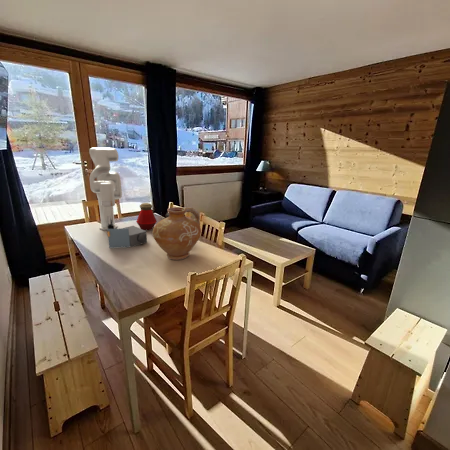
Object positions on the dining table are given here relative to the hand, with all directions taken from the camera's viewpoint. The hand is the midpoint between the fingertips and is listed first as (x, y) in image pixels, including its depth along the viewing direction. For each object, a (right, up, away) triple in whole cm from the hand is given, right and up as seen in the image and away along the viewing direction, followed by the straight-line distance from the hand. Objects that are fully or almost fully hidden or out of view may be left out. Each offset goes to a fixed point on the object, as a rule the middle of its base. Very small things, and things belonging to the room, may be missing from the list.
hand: (111, 231), depth 157 cm
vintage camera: (+36, -5, +24) cm, 44 cm away
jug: (+43, -15, -5) cm, 46 cm away
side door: (+5, -10, +1) cm, 11 cm away
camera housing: (+10, -8, +13) cm, 17 cm away
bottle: (+10, +1, +39) cm, 40 cm away
